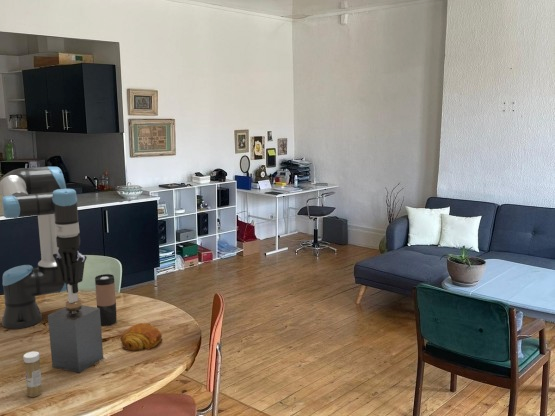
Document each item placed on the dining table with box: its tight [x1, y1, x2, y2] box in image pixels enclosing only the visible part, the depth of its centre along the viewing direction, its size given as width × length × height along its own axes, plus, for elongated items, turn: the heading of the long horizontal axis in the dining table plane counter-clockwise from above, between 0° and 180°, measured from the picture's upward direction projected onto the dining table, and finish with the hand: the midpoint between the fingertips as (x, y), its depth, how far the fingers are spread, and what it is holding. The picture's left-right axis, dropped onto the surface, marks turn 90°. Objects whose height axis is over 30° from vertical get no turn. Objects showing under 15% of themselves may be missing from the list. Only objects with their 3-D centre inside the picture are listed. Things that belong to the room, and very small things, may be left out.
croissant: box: [120, 322, 163, 351], centre depth 212 cm, size 14×16×8 cm
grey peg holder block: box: [47, 304, 104, 374], centre depth 195 cm, size 12×12×19 cm
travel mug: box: [94, 273, 117, 327], centre depth 230 cm, size 8×8×20 cm
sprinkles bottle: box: [22, 350, 43, 398], centre depth 174 cm, size 5×5×14 cm
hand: (73, 301), depth 192 cm, fingers closed
